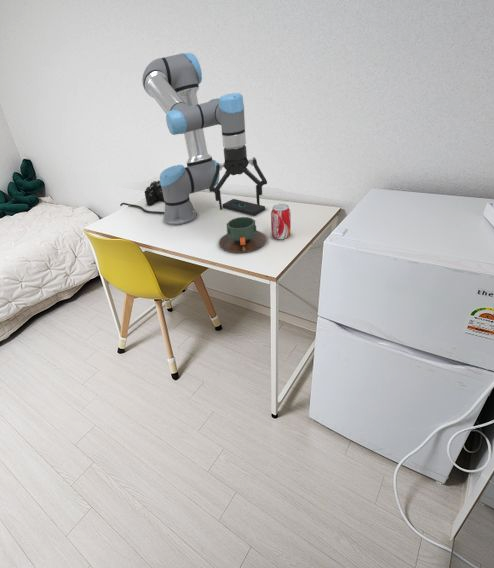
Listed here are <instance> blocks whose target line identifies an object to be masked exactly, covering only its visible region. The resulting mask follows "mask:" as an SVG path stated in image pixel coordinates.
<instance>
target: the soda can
mask: <svg viewBox="0 0 494 568" xmlns="http://www.w3.org/2000/svg"><path fill="white" fill-rule="evenodd" d="M291 215H292V214H291V209H290V206H289V205H288V204H285V203H279V204H274V205H273V206H272V210H271V212H270V221H271V222H270V225H271V228H270V229H271V236H272V237H273V238H274V239H277V240H286V239H287V238H289V237H290V236H291V231H292V228H291V227H292V221H291V220H292V219H291V217H292V216H291Z"/></svg>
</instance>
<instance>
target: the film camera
mask: <svg viewBox="0 0 494 568" xmlns="http://www.w3.org/2000/svg"><path fill="white" fill-rule="evenodd" d="M144 197H145V202H146V205H147V206H153V205H154V204H156V203H157V202H160V201H162V202H164V197H163V192H162V187H161V185H160V179H159V180H157V181H156V180H153V181H151V182H150V184H149V186H147V187H145V190H144Z"/></svg>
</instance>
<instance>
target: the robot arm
mask: <svg viewBox="0 0 494 568" xmlns="http://www.w3.org/2000/svg"><path fill="white" fill-rule="evenodd" d="M202 75H203V73H202V67H201V65H200V62H199V60H198V58H197V56H196V55H195V54H194V53H193V52H184V53H183V52H182V53H178V54H172V55H168V56H163V57H159V58H155V59H153V60H151V61H150V62H149V63H148V64H147V66H146V67H145V68H144V71H143V74H142V79H141V82H142V86H143V89H144V91H145V92H146V94H147V95H148V96H149V97H151V98H153V99H154V101H156V102H157V104H158V105H159V107H160V108H161V109H162V111H163V112H164V113H165V121H166V126H167V129H168V131H169V133H170V134H171V135H172V136H173V135H174V136H176V135H183V136H184V141H185V145H186V151H187V156H188V159H187V160H186V166H185V165H183V164H176V165H172V166H169V167H167V168H165V169H163V170H162V171H161V173H160V174H159V180H160V185H161V187H162V192H163V197H164V201H163V202H164V211H160V210H159V211H158V210H157V211H155V210H147V209H145V208H143V206H141V205H137V204H131V203H127V202H122V203H120V204H119V206H120V207H122V206H123V205H125V206H128V207H133V208H138V209H141V210H142V211H143V212H144V213H148V214H160V215H162V214H163V220H164V223H165V224H167V225H171V226H181V225H185V224H188V223H190V222H192V221H194V220H196V217H197V211H196V208H195V207H194V205H193V203H192V202H191V199H190V194H194V193H198V192H201V191H205V190H209V192H210V193H214V198H215V202H218V205H219V211H223V205H222V204H223V203H222V195H221V188H222V187H223V185H224V184H225V182H226V181H227V179H228V178H229V177H230V176H236V175H242V174H245V176H247V177H248V178H249V179H250V180H251V181H253V183H255V194H256V195H255V196H256V204H257V205H261V204H260V203H261V202H260V196H262V195H263V186H264V185H267V184H268V180H267V178H266V177H265V175H264V173H263V172H262V169H261V168H260V167H259V164H258V161H257V158H256V157H255V156H253V157H252V158H250V159H248V154H247V146H246V144H247V137H246V122H245V121H246V120H245V104H244V96H243V94H241V93H240V92H232V93H227V94H223V95H221V96H219V98H212V99H210V100H208V101H206V102H203V103H199V100H198V95H197V93H198V91H199V89H200V84H201V83H202V81H203V76H202ZM213 126H221V138H222V146H223V157H224V161H223V163H220V162H217V160H215V159H213V156H212V155H211V154H209V153H208V149H207V142H206V137H205V132H204V129H207V128H210V127H213ZM249 165H251V167H253V168H254V169H255V171H256V173H257V174H258V176H259V178H260V179H261V180H260V179H259V178H258V177H257V176H255V174H254V173H252V172H251V171H250V170H249V169H248V168H247V167H248V166H249ZM223 168H224V169H225V172H224V174H223V175H222V177H221V178H220V171H222V170H223Z"/></svg>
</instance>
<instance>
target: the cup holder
mask: <svg viewBox="0 0 494 568" xmlns="http://www.w3.org/2000/svg"><path fill="white" fill-rule="evenodd" d="M256 231H257V225H256V220H255V219H253V218H252V217H248V216H247V217H246V216H241V217H235V218H233V219H231V220H228V222H226V234H227V235H229V238H230V239H233V240H238V241H240V245H245V240H247V239H250V238H252V237H253V236H254V235H255V232H256Z"/></svg>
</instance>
